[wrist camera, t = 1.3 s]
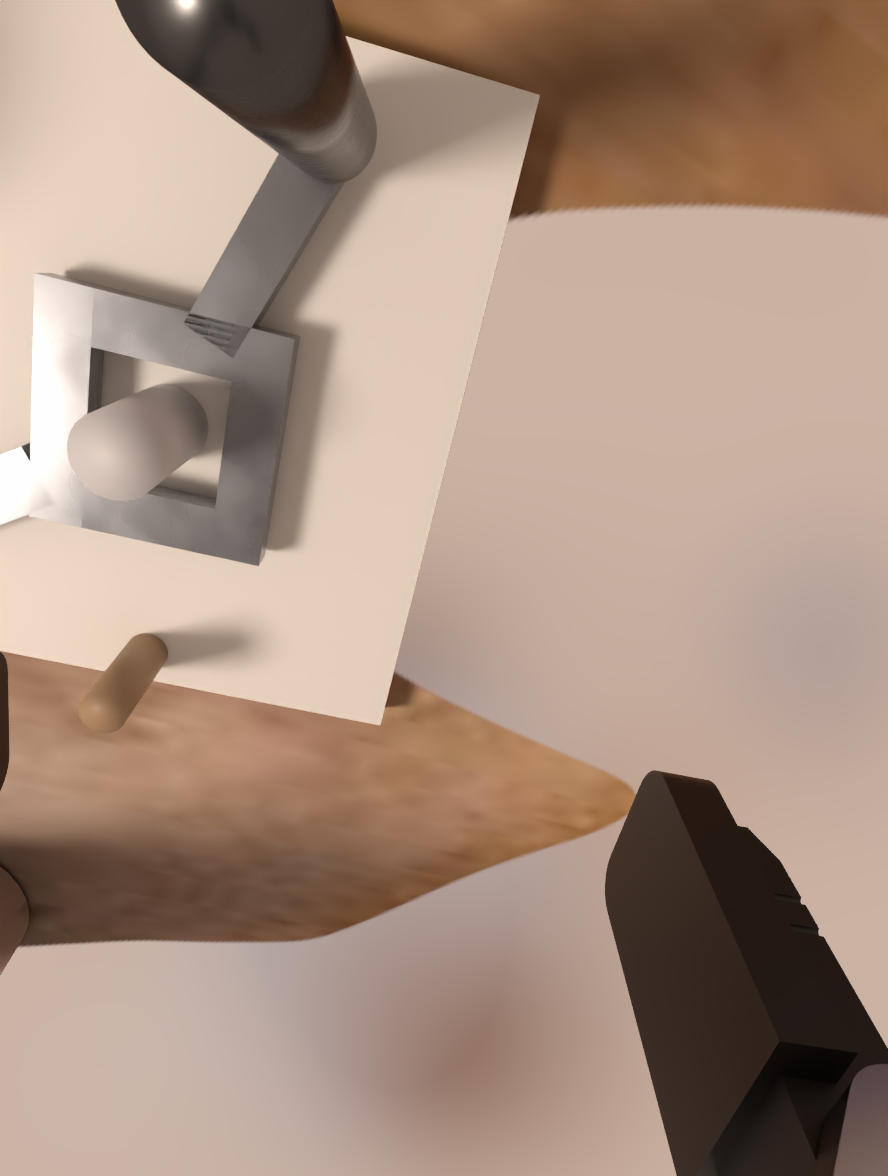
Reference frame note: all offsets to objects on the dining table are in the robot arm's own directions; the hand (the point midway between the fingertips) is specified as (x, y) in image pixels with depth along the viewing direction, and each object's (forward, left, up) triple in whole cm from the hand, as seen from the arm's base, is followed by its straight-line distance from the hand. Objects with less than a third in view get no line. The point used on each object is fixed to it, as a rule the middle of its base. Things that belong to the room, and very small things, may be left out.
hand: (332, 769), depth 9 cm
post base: (-2, +9, -23) cm, 25 cm away
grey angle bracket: (0, +11, -21) cm, 24 cm away
